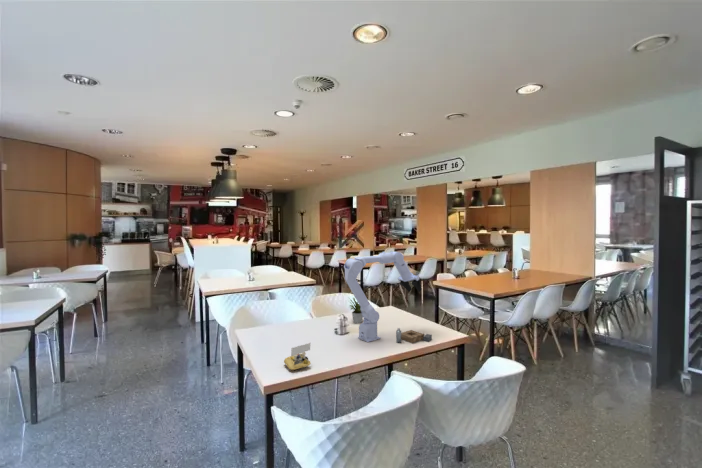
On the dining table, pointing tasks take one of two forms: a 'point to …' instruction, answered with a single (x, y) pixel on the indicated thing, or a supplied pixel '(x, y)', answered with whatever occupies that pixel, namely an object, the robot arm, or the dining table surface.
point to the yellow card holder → (298, 357)
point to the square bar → (427, 337)
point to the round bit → (398, 335)
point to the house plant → (356, 312)
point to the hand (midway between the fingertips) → (415, 290)
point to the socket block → (412, 336)
